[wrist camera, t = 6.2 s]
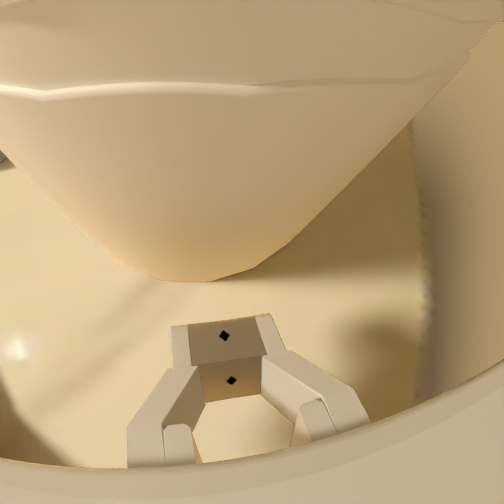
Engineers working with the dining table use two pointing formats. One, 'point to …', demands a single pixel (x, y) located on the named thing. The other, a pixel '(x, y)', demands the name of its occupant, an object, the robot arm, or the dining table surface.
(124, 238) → the canister
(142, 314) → the dining table surface
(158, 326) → the dining table surface
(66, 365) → the dining table surface
